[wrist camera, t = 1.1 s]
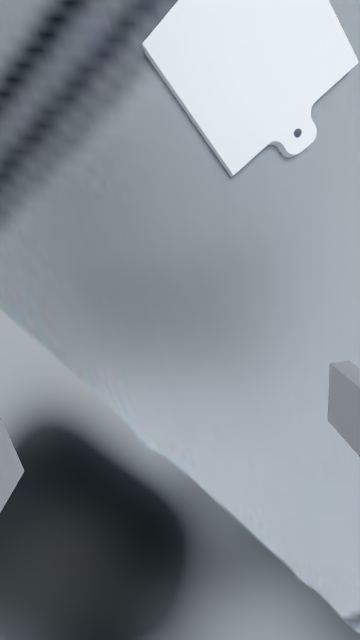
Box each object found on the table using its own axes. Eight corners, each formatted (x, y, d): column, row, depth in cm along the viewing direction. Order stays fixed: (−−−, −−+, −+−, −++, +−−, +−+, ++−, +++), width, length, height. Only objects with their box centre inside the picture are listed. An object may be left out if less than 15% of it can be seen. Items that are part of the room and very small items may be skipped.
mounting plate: (126, 28, 23) (121, 13, 22) (247, -123, 20) (253, -156, 18) (244, 198, 28) (248, 197, 26) (359, 99, 25) (372, 90, 23)
